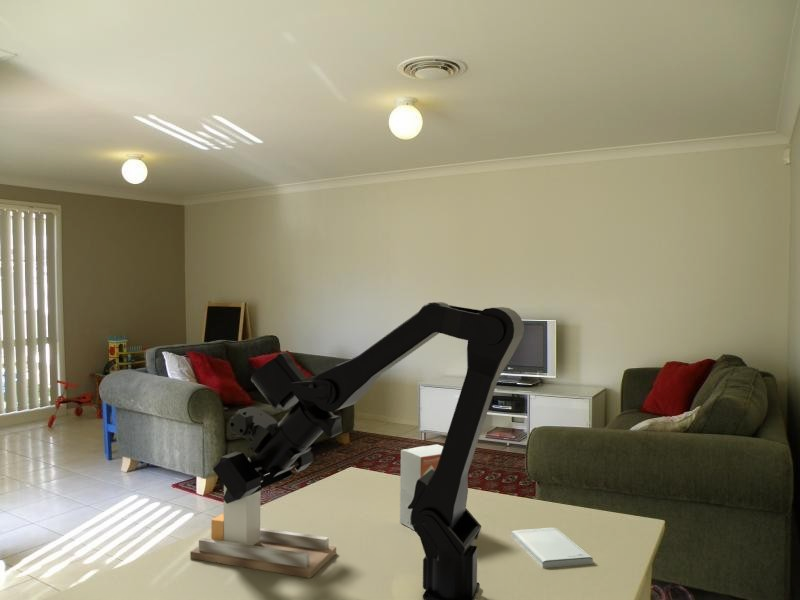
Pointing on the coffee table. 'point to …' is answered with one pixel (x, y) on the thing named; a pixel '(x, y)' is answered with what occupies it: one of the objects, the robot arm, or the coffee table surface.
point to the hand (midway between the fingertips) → (234, 496)
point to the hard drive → (550, 547)
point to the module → (242, 520)
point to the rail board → (271, 552)
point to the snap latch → (218, 528)
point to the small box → (415, 474)
